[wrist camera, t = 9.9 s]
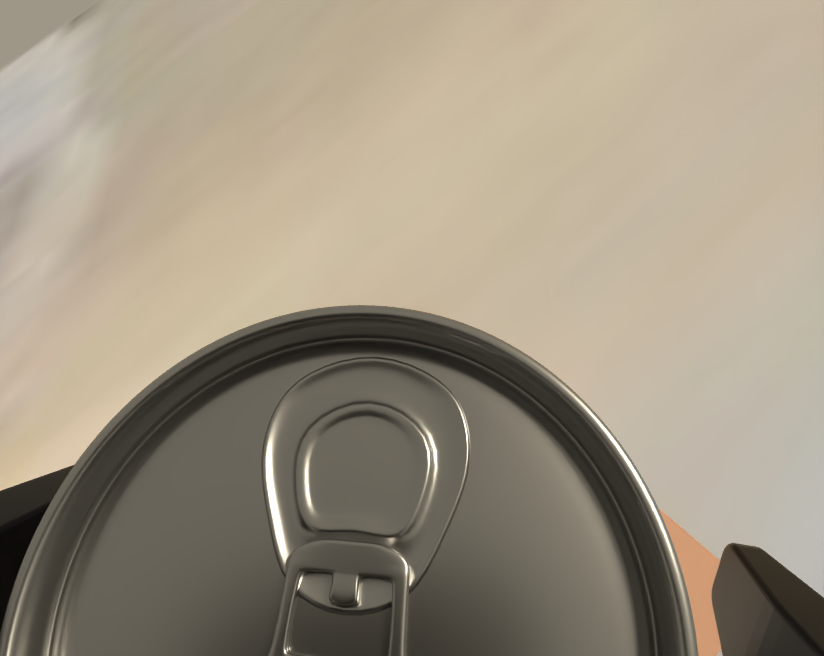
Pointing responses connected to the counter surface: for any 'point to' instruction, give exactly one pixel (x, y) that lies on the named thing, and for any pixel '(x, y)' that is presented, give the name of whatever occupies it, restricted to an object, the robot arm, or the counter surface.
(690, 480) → the counter surface
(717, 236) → the counter surface
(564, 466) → the can
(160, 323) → the counter surface
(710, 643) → the tile
